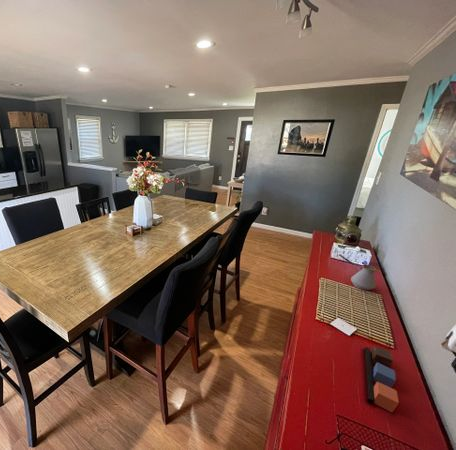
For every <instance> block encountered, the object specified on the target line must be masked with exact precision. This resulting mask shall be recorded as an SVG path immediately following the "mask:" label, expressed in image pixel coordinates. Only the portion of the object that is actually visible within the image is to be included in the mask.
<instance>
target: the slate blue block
mask: <svg viewBox="0 0 456 450" xmlns="http://www.w3.org/2000/svg"><path fill="white" fill-rule="evenodd" d="M372 376H373V383H375V384H376V382H379V383H382V384H384V385H386V386H388V387H390V388H392V387H393V386H394V384H395V382H396V380H397V379H396V370H394V369H392V368H391V367H390V368H388V367H386V366H384V365H382V364H380V363H378V362H377V363H376V365H375V364H374V366H373V368H372ZM392 389H393V388H392Z"/></svg>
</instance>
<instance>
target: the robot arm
mask: <svg viewBox="0 0 456 450" xmlns="http://www.w3.org/2000/svg"><path fill="white" fill-rule="evenodd" d="M444 339H445V340H444V341H443V342H441V344H440V345H441V348H443V349H444V350H446V351H448V352H449V353H452V354H453V356H454V357H455V358H454V359H453V360H452V362H451V368H452V369H453V371H454V373H455V374H456V324H455V325H453V326H452V327H451V329H450V330H449V331H448V333H447V334H446V336H445V338H444Z"/></svg>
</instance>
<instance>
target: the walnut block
mask: <svg viewBox="0 0 456 450" xmlns="http://www.w3.org/2000/svg"><path fill="white" fill-rule="evenodd" d="M370 353H371V364H372V365H374V366H375V365H376V363H377V362H378V363H380V364H382V365H384V366H386V367H388V368H390V369H391V366H392V364H393V363H394V359H393V355H392V352H391V351H390V350H388V349H385V348H382V347H380V346H377V345H373V347H372V348H371V350H370Z"/></svg>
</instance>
